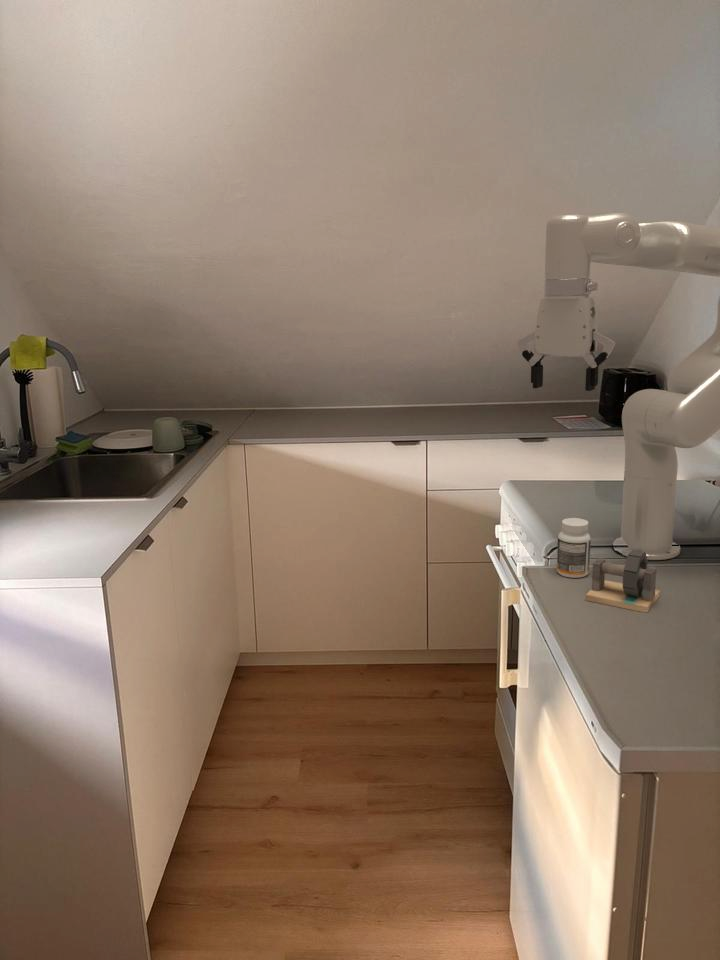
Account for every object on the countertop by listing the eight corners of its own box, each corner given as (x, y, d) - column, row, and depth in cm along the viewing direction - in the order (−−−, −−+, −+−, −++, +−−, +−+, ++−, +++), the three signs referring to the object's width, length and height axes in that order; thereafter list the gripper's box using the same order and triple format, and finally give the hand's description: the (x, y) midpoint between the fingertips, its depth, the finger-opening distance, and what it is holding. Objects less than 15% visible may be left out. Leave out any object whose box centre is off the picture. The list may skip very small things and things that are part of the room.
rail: (600, 584, 135) (601, 553, 134) (659, 595, 130) (661, 562, 128) (585, 600, 129) (586, 567, 127) (647, 612, 123) (649, 578, 122)
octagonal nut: (633, 584, 131) (636, 546, 130) (645, 587, 130) (648, 548, 128) (621, 599, 126) (624, 558, 124) (634, 601, 125) (636, 560, 123)
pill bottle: (565, 565, 145) (567, 514, 142) (594, 572, 141) (596, 520, 139) (551, 574, 141) (553, 522, 138) (580, 581, 137) (583, 528, 135)
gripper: (623, 288, 131) (618, 388, 136) (527, 290, 141) (525, 384, 145) (610, 289, 125) (605, 394, 130) (511, 291, 135) (509, 389, 139)
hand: (563, 388), depth 137 cm, fingers open, 9 cm apart
